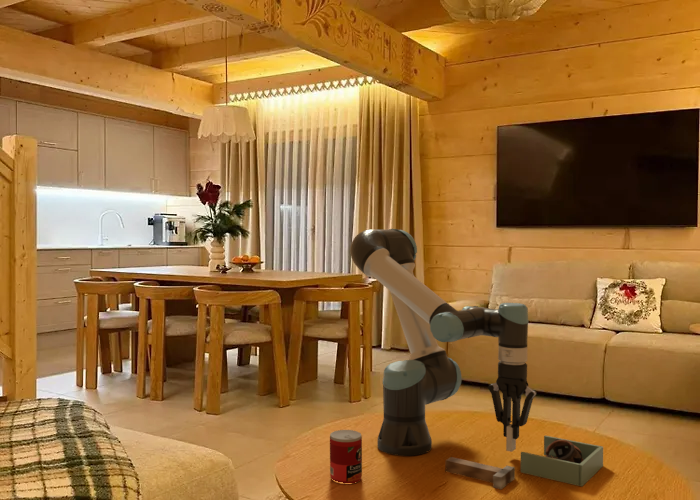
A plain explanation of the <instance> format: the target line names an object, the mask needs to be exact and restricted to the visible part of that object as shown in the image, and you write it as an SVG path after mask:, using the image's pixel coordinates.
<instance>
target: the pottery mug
mask: <svg viewBox="0 0 700 500" xmlns="http://www.w3.org/2000/svg"><path fill="white" fill-rule="evenodd" d="M567 440H568V439H566V440H560V439H555V440H554V441H553V442H552V443H551V444H550V445H548V447H547V448H546V455H545V457H550V458H555V459H559V460H564V461H569V462H574V463H578V464H580V463H581V462H582V461H584V460H583V458H582V453H581V451H580V449H579V448H578V447H576V446H575V445H573V444H572V443H571V442H570V441H567ZM565 446H568V448H565ZM552 449H553V450H554V453H555V454H556V457H553V456H550V455H549V452H550V451H551V450H552Z"/></svg>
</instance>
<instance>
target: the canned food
mask: <svg viewBox="0 0 700 500" xmlns="http://www.w3.org/2000/svg"><path fill="white" fill-rule="evenodd" d="M362 439H363V435H362V433H361V432H359V431H358V430H357V431H356V430H353V429H340V430H334V431H332V432H330V434H329V476H330V478H332V479H333V480H335V481H338V482H343V483H355V482H357V483H359V482H360V481H361V480H362V476H363V440H362ZM332 479H331V480H332ZM358 481H359V482H358ZM355 484H356V483H355Z"/></svg>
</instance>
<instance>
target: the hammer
mask: <svg viewBox="0 0 700 500" xmlns="http://www.w3.org/2000/svg"><path fill="white" fill-rule="evenodd" d="M444 465H445V472H446V473H450V474H453V475H454V474H456V475H459V476H462V477H467V478H471V479H476V480H479V481H483V482H486V483H487V482H488V483H491V484H492V488H494V489H496V490H497V489H498V490H503V488H505V487H506V486H508V485H509V484H510V483H511V482H512V481H514V480H516V479H515V478H516V476H515V475H516V474H515V473H516V470H515V469H516V467H514V466H512V465H511V466H510V465H506V466H504V467H503V468H502V467H498V466H492V465H488V464H483V463H479V462H476V461H470V460H467V459H462V458H457V457H453V456H450V457H449V458H447V459H445V463H444Z"/></svg>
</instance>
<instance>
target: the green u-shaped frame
mask: <svg viewBox="0 0 700 500" xmlns="http://www.w3.org/2000/svg"><path fill="white" fill-rule="evenodd" d="M555 439H560V440H567V441H570V442H571V443H572V444H573V445H575V446H576V447H578V448H579V449H580V451H581V453H582V458H583V460H584V461H582V462H581V463H580V464H578V463H574V462H569V461H564V460H559V459H555V458H557V457H556V454H555V453H554V450H553V449H552V450H551V451H550V452H549V455H550V456H551V457H554V458H550V457H546V448H547V447H548V445H550V444H551V443H552V442H553V441H554V440H555ZM565 448H568V446H565ZM603 467H604V446H602V445H597V444H591V443H587V442H586V443H585V442H581V441H576V440H570V439H565V438H561V437H560V438H559V437H555V436H550V435H544V437H543V455H540V454H535V453H530V452H526V451H521V452H520V473H523V474H527V475H532V476H534V477H538V478H543V479H549V480H552V481H553V480H554V481H557V482H560V483H566V484H569V485H570V484H571V485H575V486H578V487H583V486H584V485H586V483H588V481H590V480H591V479H592V478H593V477H594V475H595V474H597V472H598V471H599V470H601V469H602V468H603Z"/></svg>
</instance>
